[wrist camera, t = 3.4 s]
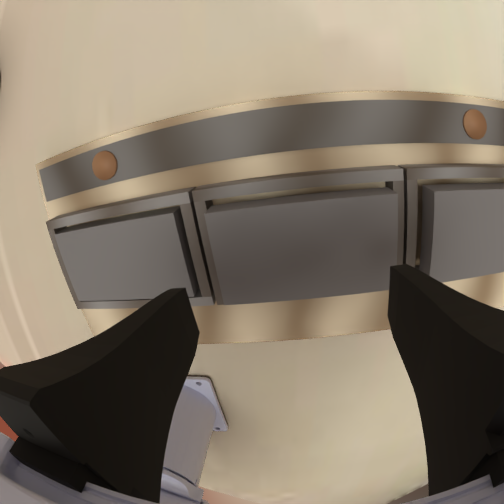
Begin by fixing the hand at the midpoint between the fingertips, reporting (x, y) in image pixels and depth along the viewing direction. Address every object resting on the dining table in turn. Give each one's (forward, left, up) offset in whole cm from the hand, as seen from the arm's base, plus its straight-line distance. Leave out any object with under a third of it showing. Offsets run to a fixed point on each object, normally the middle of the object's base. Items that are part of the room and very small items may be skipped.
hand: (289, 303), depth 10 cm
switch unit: (+1, 0, -9) cm, 9 cm away
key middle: (+1, 0, -6) cm, 6 cm away
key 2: (-10, 0, -7) cm, 12 cm away
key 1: (+12, 0, -6) cm, 13 cm away
